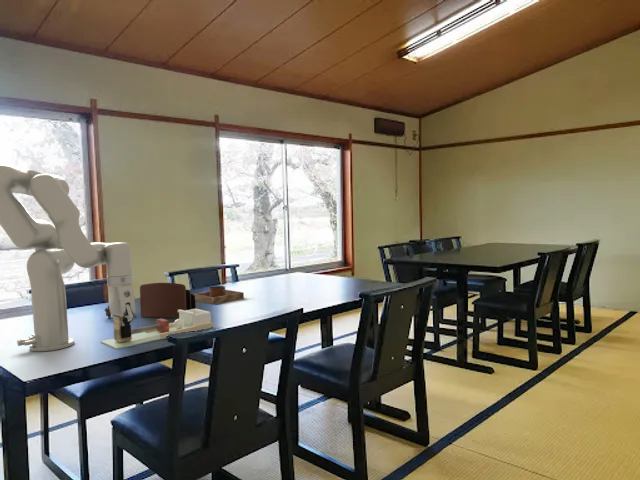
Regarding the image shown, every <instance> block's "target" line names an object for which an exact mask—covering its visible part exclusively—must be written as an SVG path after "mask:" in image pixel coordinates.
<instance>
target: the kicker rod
mask: <svg viewBox="0 0 640 480" xmlns="http://www.w3.org/2000/svg"><path fill="white" fill-rule="evenodd" d="M126 315H127V314H124V316H126ZM112 318H113V319H112V322H113V335H114V338H113V339H114V340H115V341H118V342H124V341H128V340H132V335H133V334H137V333H142V332H145V331H148V330H153V329H157V331H159V332H162V333H165V332H169V323H170V321H169V320H168V319H166V318H165V319H164V318H163V317H160V318H158V319H156V323H155V324H153V325H148V326H142V327H138V328H133V329H132V328H131V337H128V338H123V339H122V338H121V330H120V326H122V325H121V318H120V316H113V315H112ZM126 318H127V317H126ZM124 320H125V318H124Z"/></svg>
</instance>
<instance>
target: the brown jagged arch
mask: <svg viewBox="0 0 640 480" xmlns="http://www.w3.org/2000/svg"><path fill="white" fill-rule="evenodd" d="M104 312H105V316H106V317H108V318H111V315H112V314H111V313H110V309H109V305H108V306H107V307H105V308H104Z"/></svg>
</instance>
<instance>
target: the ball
mask: <svg viewBox="0 0 640 480" xmlns="http://www.w3.org/2000/svg"><path fill="white" fill-rule="evenodd" d="M173 323H174V327H175V328H176V329H181V328H183V326H184V321H183V320H182V319H179V318H177V319H175V320H174V322H173Z"/></svg>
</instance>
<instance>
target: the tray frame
mask: <svg viewBox="0 0 640 480" xmlns="http://www.w3.org/2000/svg"><path fill="white" fill-rule="evenodd" d="M193 294H194V295H195V301H196V302H199V303H204V304H210V305H218V304H223V303H228V302H234V301H240V300H244V299H245V297H244V292H242V291H235V290H230V289H225V294H229V295H224V296H219V297H209V296H207V295H210V292H209V291H205V292H204V291H203V292H198V293H193Z"/></svg>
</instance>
